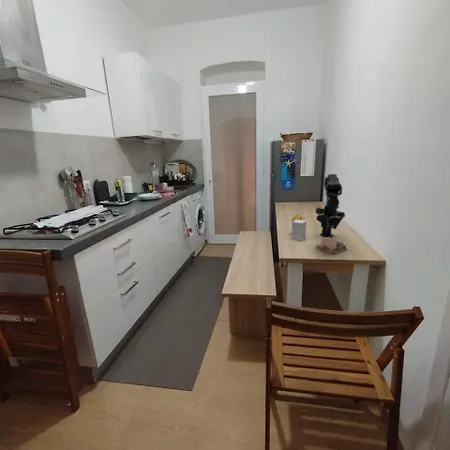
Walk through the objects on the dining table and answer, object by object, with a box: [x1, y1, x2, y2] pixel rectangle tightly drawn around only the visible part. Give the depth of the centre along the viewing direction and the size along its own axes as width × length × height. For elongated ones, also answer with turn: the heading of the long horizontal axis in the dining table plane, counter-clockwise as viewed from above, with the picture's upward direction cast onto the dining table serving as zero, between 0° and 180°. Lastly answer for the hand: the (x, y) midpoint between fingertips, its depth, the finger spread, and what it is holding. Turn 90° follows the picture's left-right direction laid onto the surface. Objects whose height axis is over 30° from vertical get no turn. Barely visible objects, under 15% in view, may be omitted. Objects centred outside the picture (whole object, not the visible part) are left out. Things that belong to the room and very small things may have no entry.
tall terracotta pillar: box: [320, 237, 337, 249], centre depth 153 cm, size 9×4×4 cm, turn 18°
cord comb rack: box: [315, 244, 349, 256], centre depth 155 cm, size 13×13×2 cm
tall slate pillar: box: [330, 238, 344, 250], centre depth 157 cm, size 9×4×4 cm, turn 33°
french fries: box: [291, 213, 306, 223], centre depth 184 cm, size 9×8×15 cm
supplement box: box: [291, 219, 307, 242], centre depth 175 cm, size 7×7×13 cm
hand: (329, 230), depth 151 cm, fingers open, 9 cm apart
